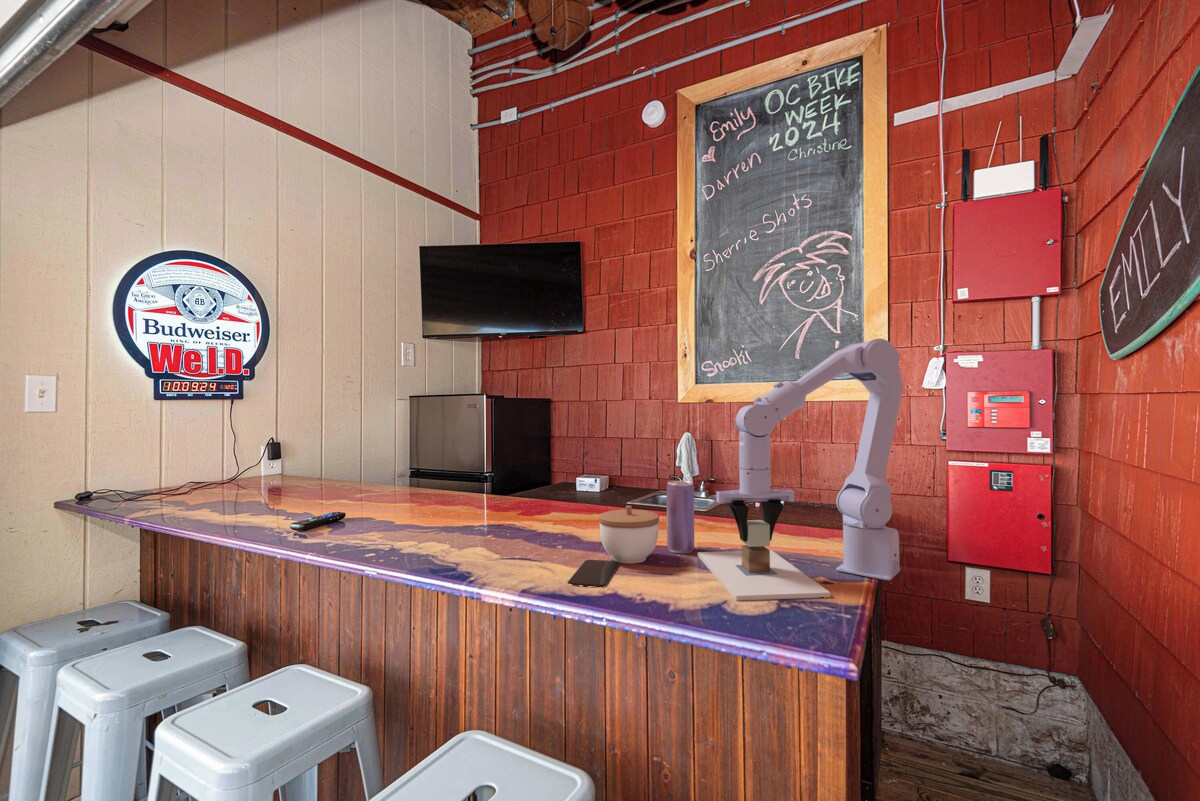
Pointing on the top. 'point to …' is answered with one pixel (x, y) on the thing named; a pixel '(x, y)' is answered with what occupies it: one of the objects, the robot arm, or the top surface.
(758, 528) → the sage block
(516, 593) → the top surface
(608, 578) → the smartphone
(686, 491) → the beverage can
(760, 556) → the walnut block
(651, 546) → the lidded bowl
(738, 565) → the white flat panel
